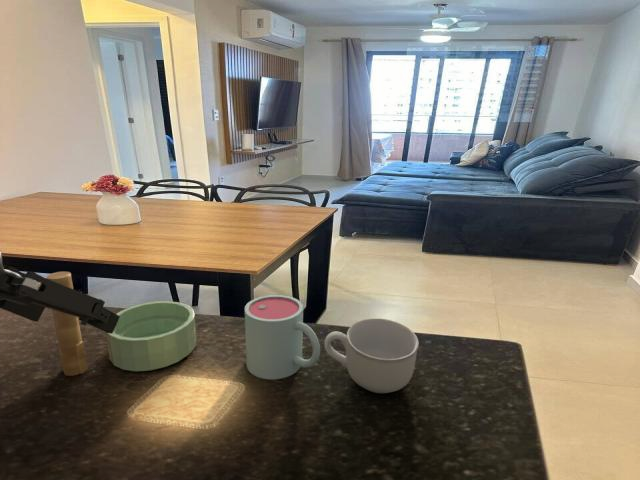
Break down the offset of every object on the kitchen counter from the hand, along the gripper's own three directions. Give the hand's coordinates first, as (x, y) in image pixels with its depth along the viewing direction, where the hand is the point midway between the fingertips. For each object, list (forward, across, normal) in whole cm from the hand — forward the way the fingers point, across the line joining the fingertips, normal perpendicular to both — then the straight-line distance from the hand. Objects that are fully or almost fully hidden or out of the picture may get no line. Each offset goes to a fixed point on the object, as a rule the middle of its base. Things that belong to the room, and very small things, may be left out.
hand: (76, 318), depth 59 cm
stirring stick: (+5, 0, -7) cm, 8 cm away
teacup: (+12, +45, 0) cm, 46 cm away
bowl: (+10, +8, -1) cm, 13 cm away
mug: (+11, +31, 0) cm, 33 cm away
